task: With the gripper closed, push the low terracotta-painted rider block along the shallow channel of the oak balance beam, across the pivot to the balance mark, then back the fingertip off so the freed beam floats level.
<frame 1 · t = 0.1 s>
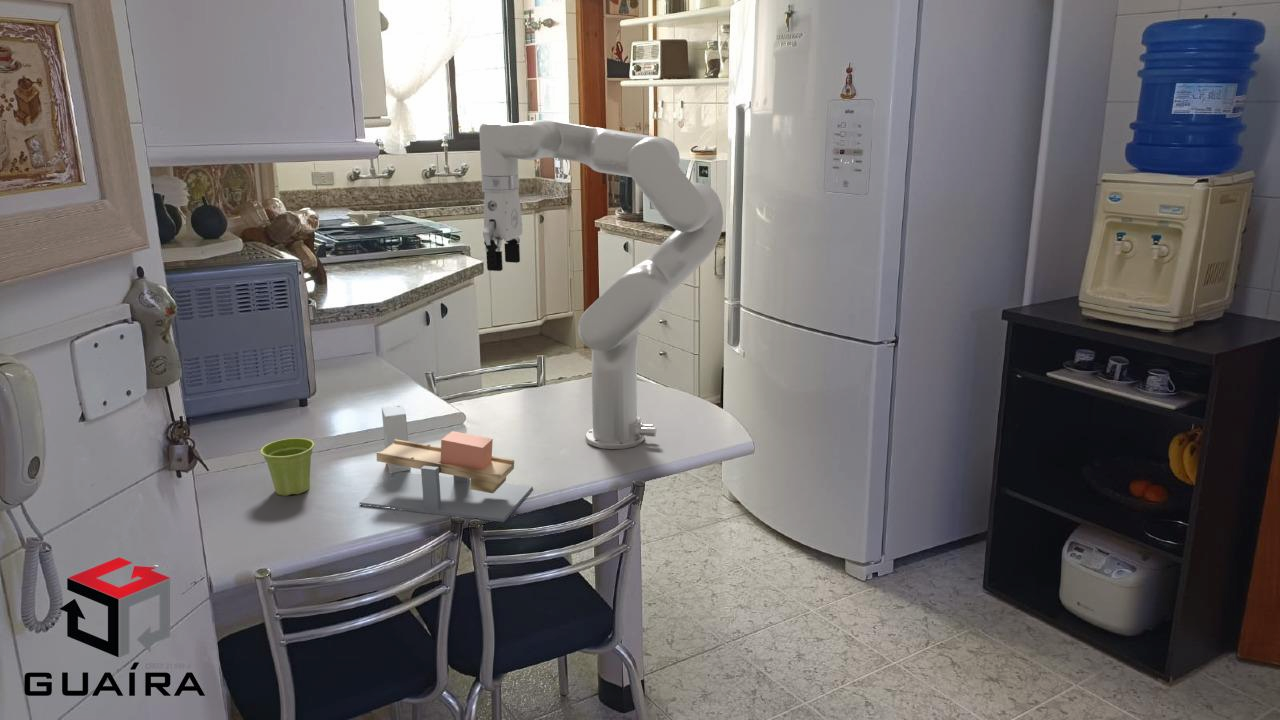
hand: (503, 266, 198), 37 cm above the table, tool pointing down, fingers open, 9 cm apart
plant pot: (292, 490, 178), on the table
rider: (466, 462, 171), point 7 cm above the table, tilted 6°, touching beam
skincare box: (398, 467, 188), on the table
stand: (447, 497, 174), on the table
beam: (445, 466, 173), point 6 cm above the table, hinge at -4.5°, touching rider
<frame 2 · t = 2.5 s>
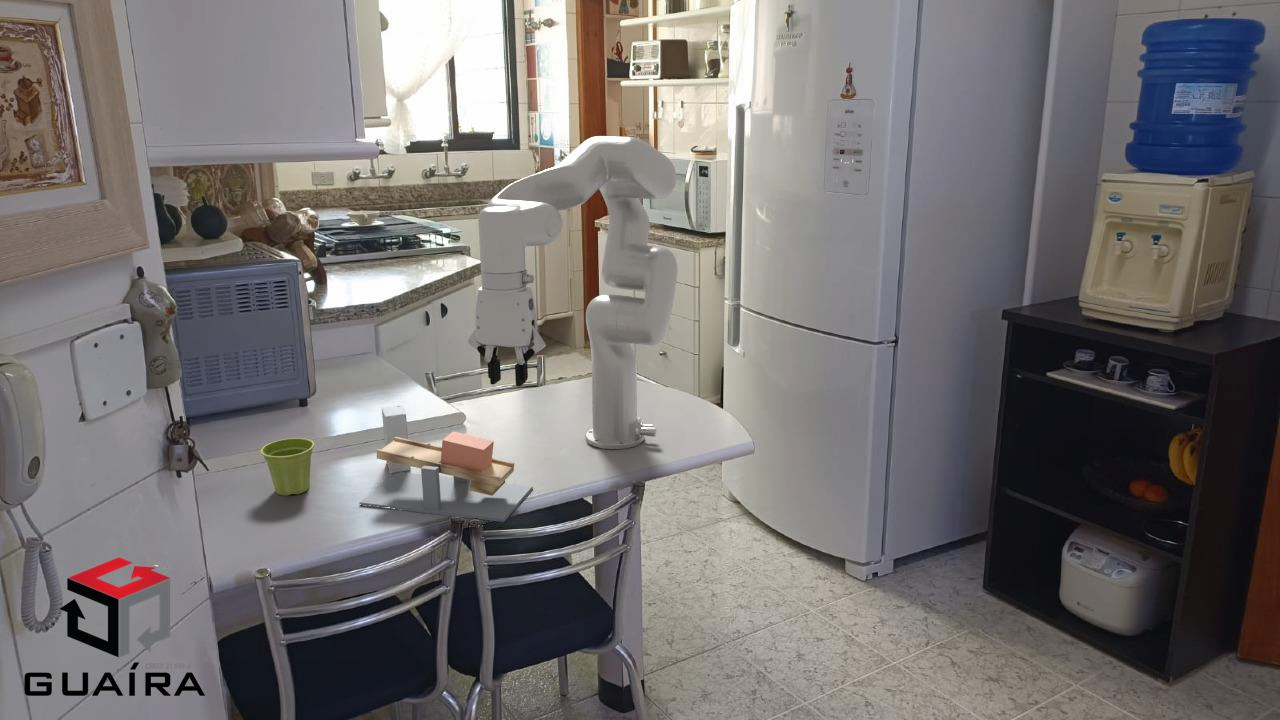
hand: (508, 382, 165), 23 cm above the table, tool pointing down, fingers open, 4 cm apart
beam: (445, 466, 173), point 6 cm above the table, hinge at -7.0°, touching rider
everything else where it was.
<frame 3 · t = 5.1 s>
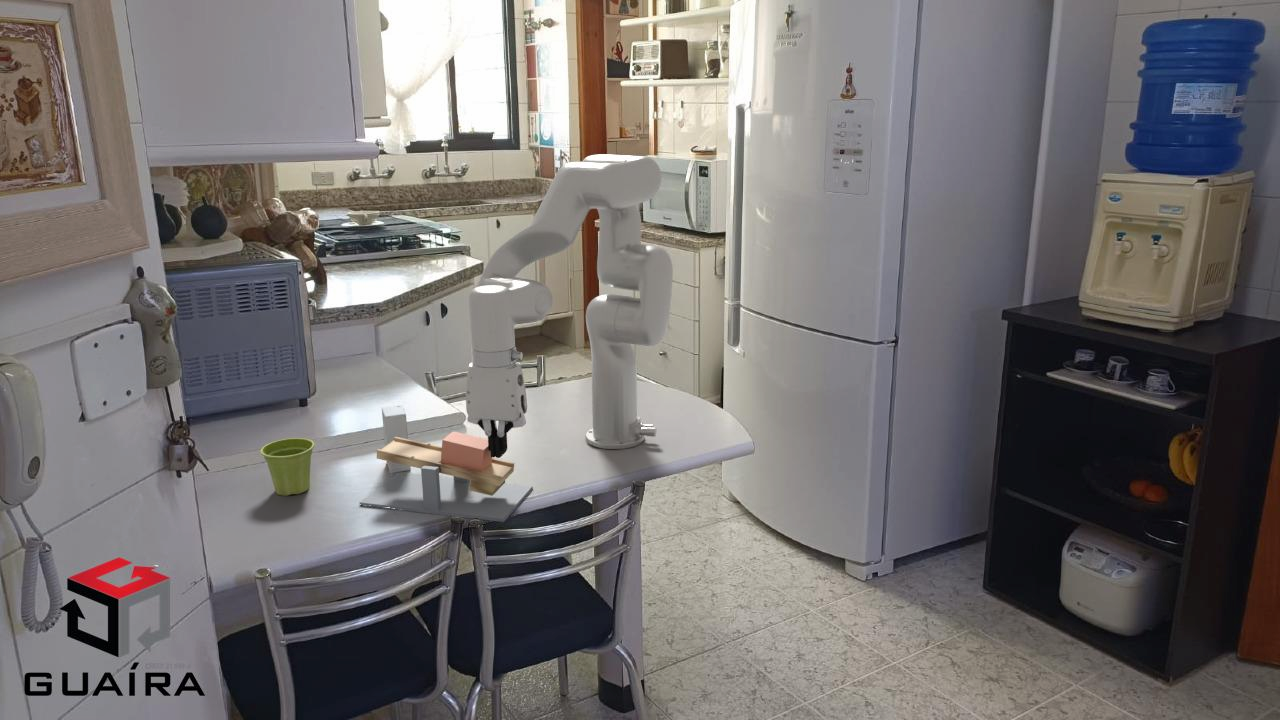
hand: (498, 454, 169), 9 cm above the table, tool pointing down, fingers closed
rider: (466, 463, 171), point 7 cm above the table, tilted 8°, touching beam, gripper
everything else where it was.
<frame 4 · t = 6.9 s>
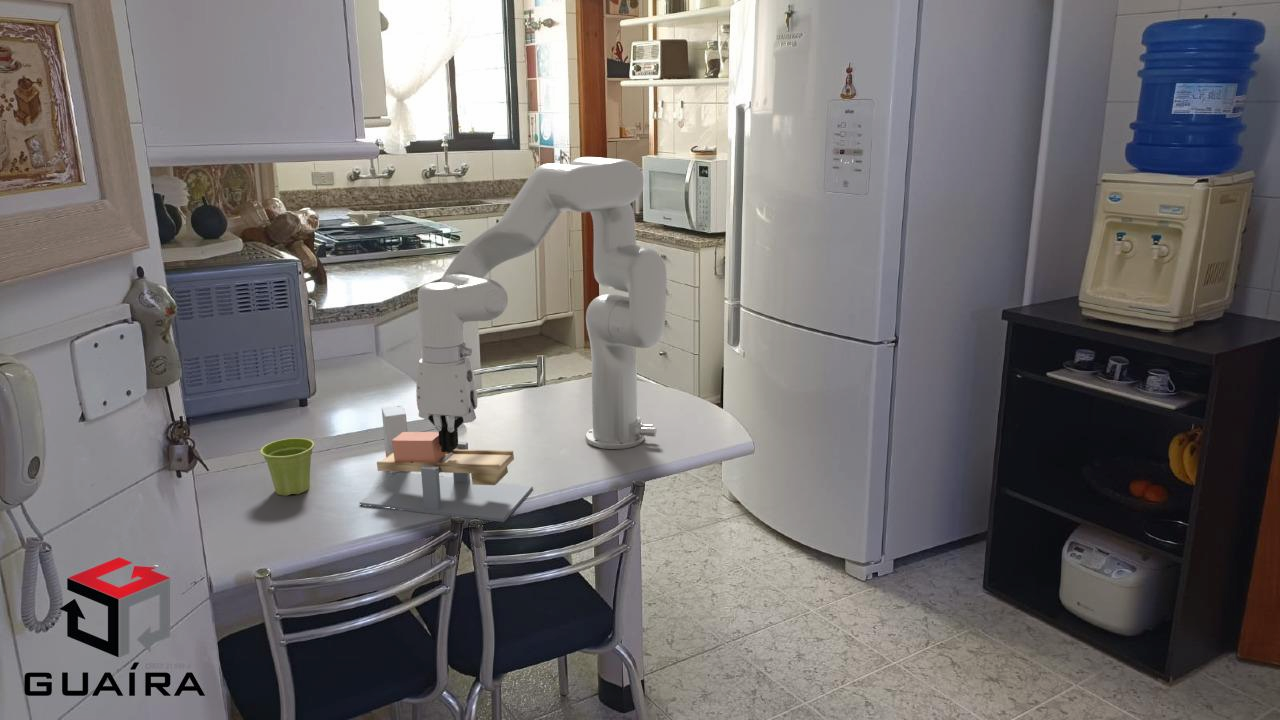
hand: (449, 449, 171), 10 cm above the table, tool pointing down, fingers closed
rider: (420, 459, 173), point 7 cm above the table, touching beam, gripper
beam: (446, 466, 173), point 6 cm above the table, hinge at 4.4°, touching rider
everything else where it was.
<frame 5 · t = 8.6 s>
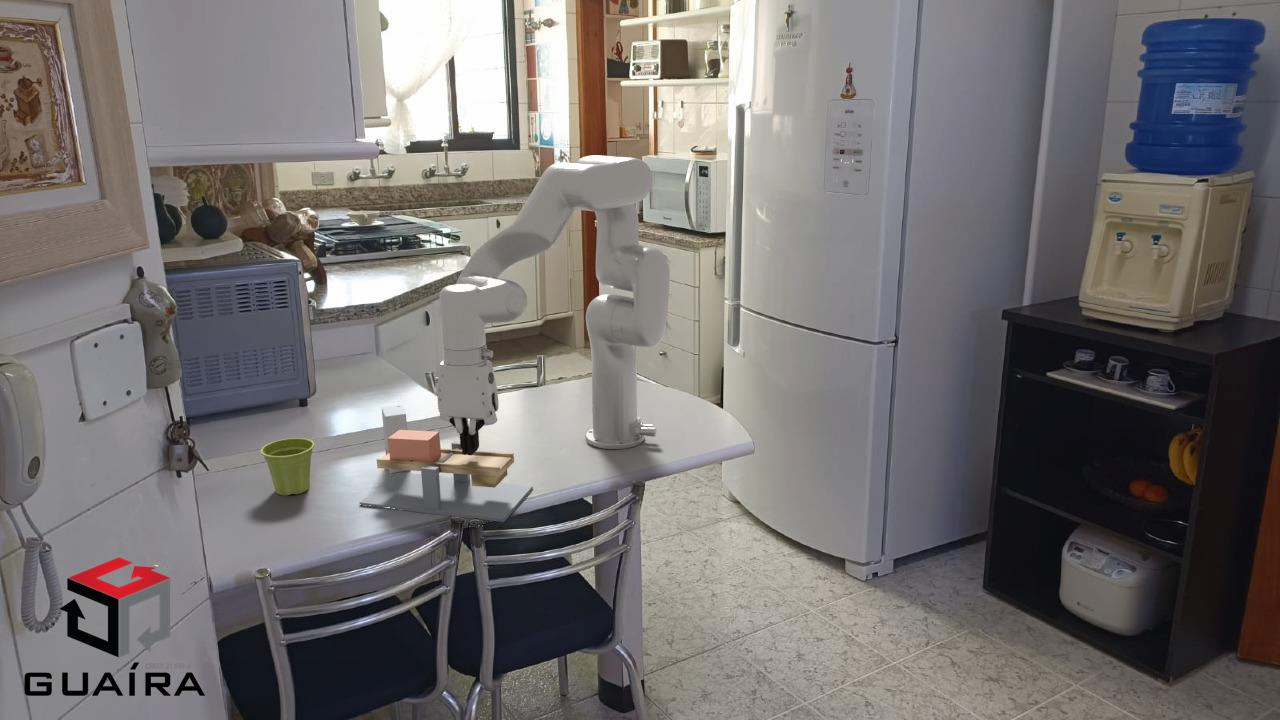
hand: (470, 452, 170), 9 cm above the table, tool pointing down, fingers closed
rider: (415, 457, 173), point 7 cm above the table, touching beam
beam: (446, 466, 173), point 6 cm above the table, hinge at 2.0°, touching rider
everything else where it was.
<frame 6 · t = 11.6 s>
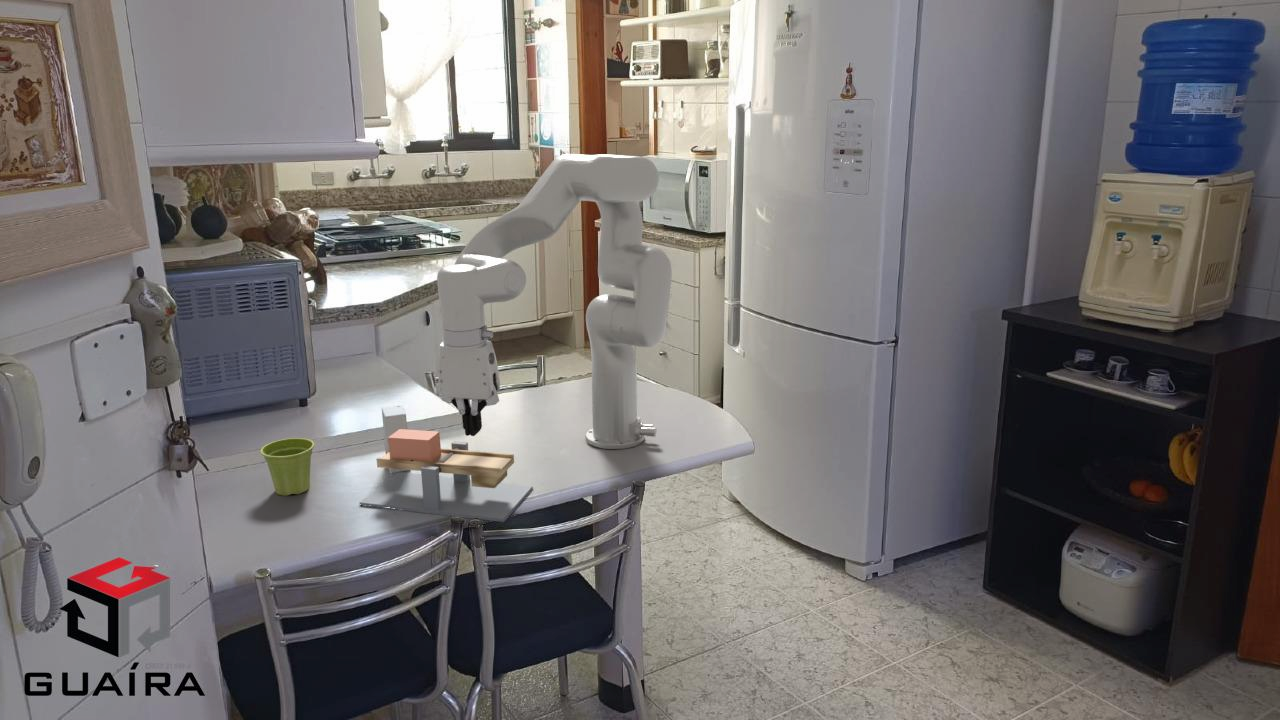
hand: (473, 432, 170), 13 cm above the table, tool pointing down, fingers closed
beam: (446, 466, 173), point 6 cm above the table, hinge at 1.1°, touching rider
everything else where it was.
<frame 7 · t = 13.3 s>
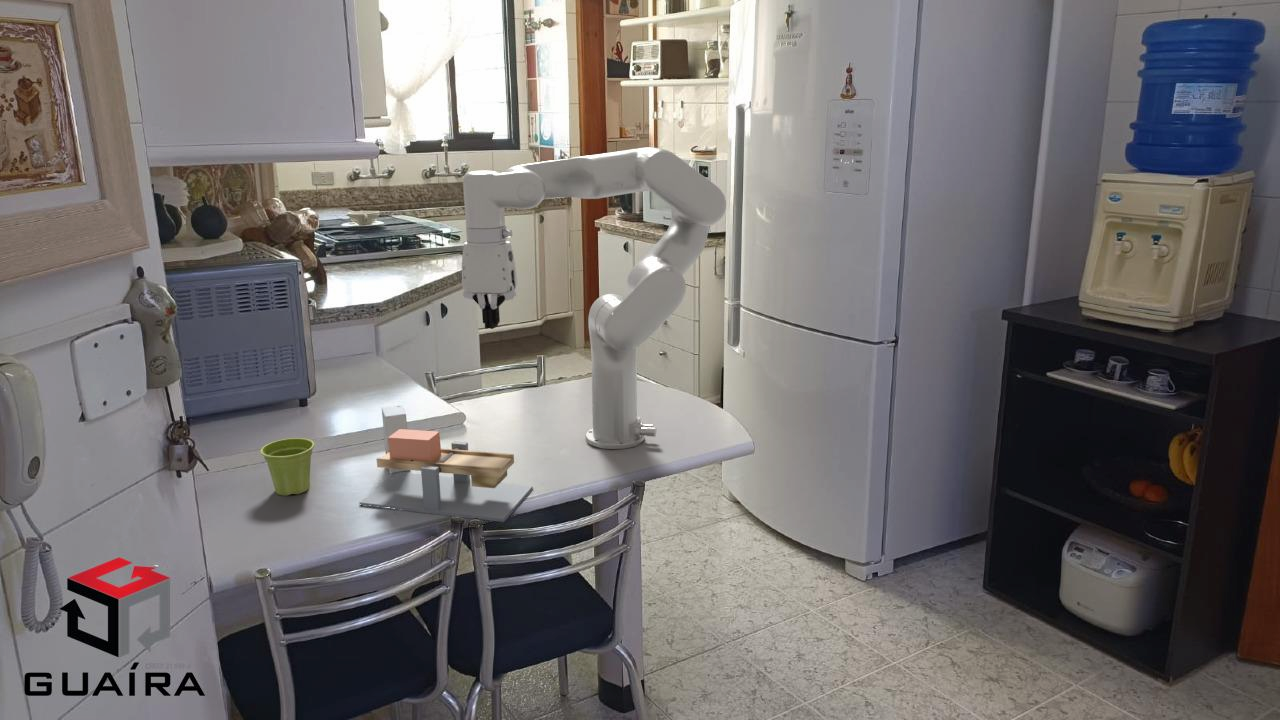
hand: (491, 326, 188), 27 cm above the table, tool pointing down, fingers closed
nothing on the table moved.
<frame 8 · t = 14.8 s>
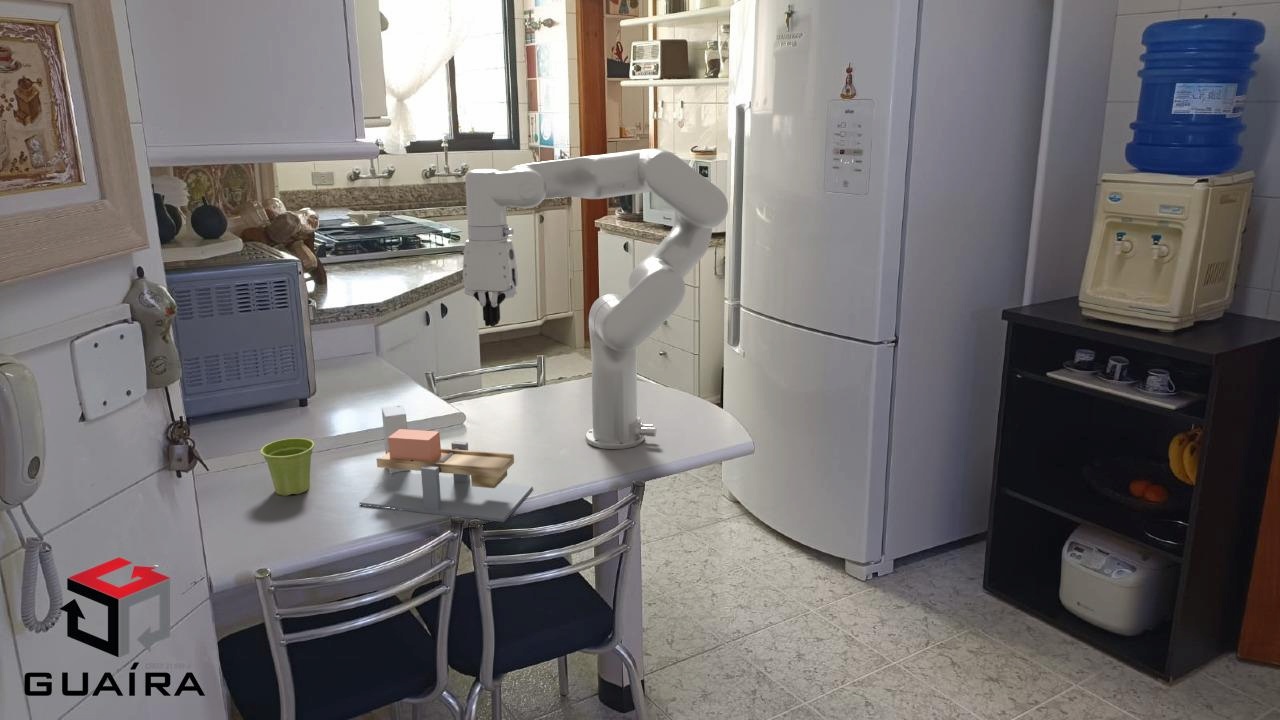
hand: (492, 324, 189), 27 cm above the table, tool pointing down, fingers closed
nothing on the table moved.
at the end: beam at +1° (first picture: -4°); rider 0.8 cm from the target spot on the beam, point 0.5 cm above the beam's base; the gripper is holding nothing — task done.
